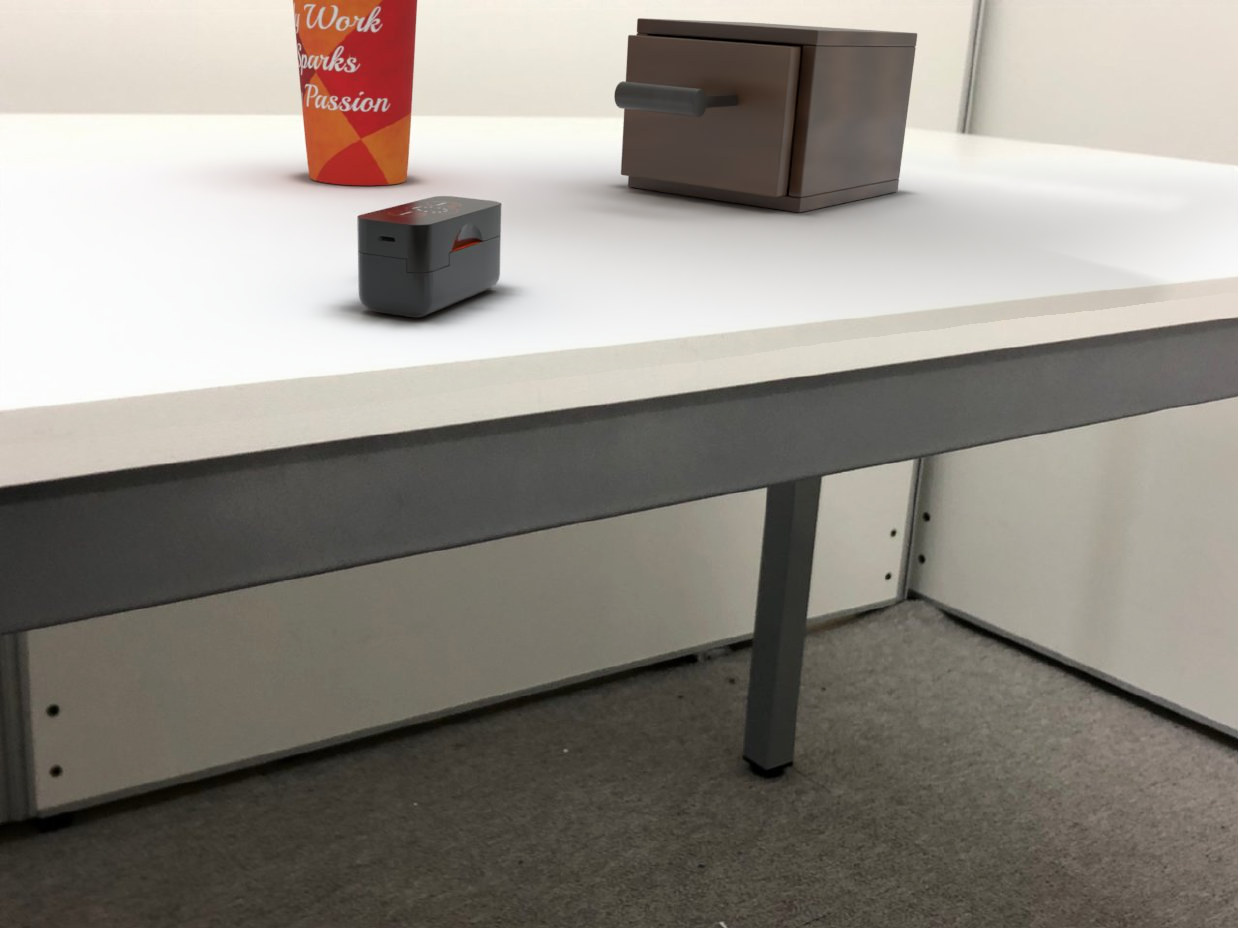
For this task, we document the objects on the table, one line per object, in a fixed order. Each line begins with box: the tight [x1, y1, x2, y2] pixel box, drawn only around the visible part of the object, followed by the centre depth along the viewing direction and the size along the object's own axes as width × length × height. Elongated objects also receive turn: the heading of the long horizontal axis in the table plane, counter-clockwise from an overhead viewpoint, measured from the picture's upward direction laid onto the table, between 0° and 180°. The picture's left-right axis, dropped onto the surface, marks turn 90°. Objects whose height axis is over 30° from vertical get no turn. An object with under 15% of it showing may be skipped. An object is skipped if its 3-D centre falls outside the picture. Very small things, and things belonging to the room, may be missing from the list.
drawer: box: [614, 34, 804, 197], centre depth 73 cm, size 17×10×8 cm, turn 145°
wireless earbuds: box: [356, 195, 502, 318], centre depth 46 cm, size 5×7×3 cm, turn 159°
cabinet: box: [627, 17, 918, 213], centre depth 77 cm, size 14×12×10 cm
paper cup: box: [292, 0, 418, 187], centre depth 71 cm, size 8×8×14 cm
